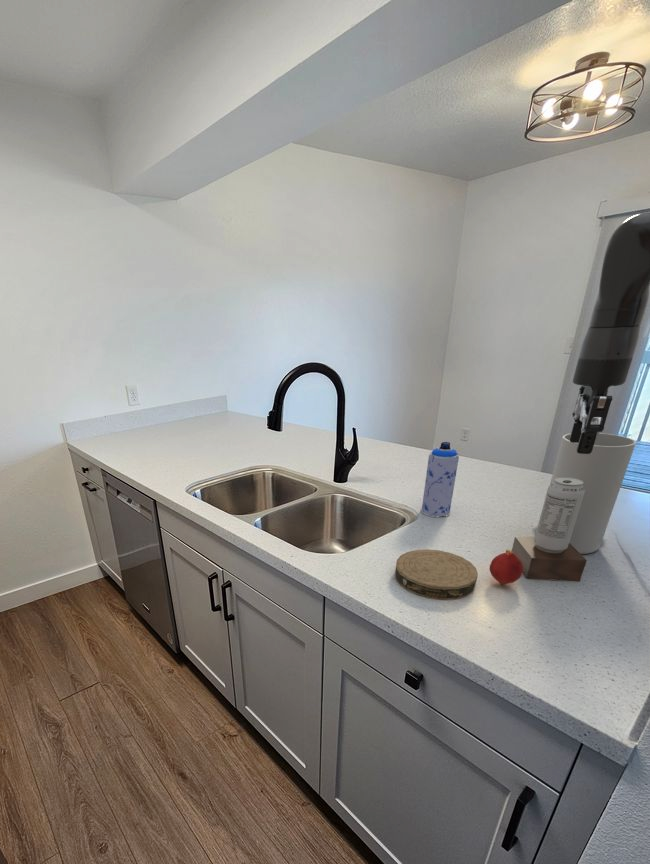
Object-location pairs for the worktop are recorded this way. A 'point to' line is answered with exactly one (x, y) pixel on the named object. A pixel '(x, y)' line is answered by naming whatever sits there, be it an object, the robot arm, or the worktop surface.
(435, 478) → the aerosol can
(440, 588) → the wood slice
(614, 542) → the worktop surface
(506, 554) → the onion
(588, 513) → the cylinder vase
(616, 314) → the robot arm
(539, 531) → the energy drink can
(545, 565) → the walnut block
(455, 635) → the worktop surface
